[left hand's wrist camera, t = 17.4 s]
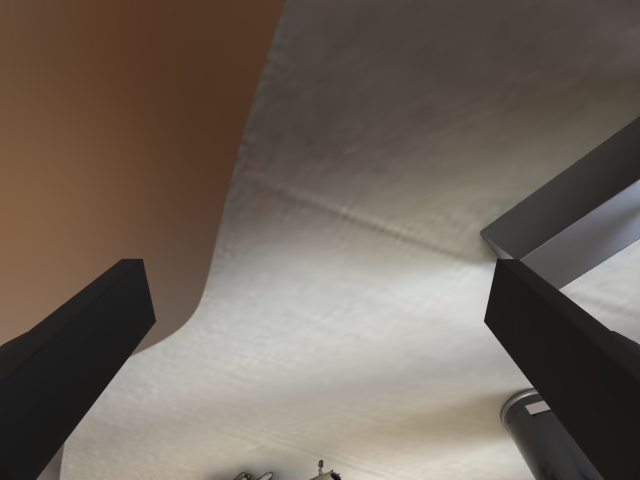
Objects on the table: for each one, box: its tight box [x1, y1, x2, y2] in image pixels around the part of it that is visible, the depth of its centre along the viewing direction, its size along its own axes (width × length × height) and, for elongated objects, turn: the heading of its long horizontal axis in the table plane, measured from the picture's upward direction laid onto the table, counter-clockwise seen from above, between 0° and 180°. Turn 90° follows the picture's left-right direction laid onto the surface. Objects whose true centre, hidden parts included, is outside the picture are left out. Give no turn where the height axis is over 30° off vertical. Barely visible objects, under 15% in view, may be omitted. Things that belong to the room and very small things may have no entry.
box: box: [480, 117, 640, 290], centre depth 35 cm, size 27×6×9 cm, turn 132°
